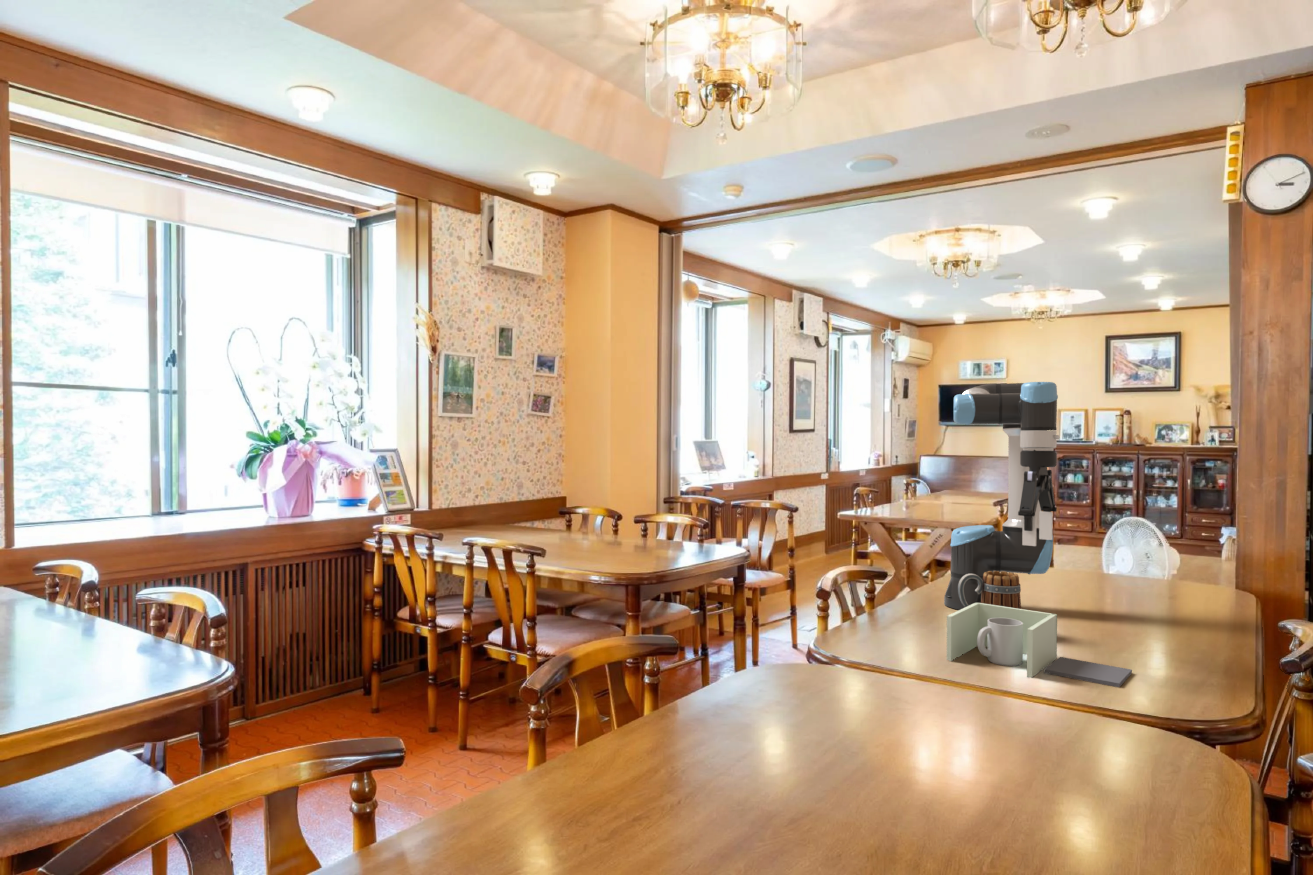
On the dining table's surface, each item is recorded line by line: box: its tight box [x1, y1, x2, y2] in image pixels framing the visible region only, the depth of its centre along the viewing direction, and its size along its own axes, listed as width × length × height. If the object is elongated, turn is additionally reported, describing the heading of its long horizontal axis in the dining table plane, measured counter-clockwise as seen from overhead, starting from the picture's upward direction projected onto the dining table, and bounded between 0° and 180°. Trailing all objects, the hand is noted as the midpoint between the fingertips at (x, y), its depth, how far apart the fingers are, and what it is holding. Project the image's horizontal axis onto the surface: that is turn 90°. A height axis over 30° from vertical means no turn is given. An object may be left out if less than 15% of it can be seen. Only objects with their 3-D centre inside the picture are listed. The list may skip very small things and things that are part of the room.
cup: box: [977, 618, 1024, 667], centre depth 176 cm, size 7×10×9 cm
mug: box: [958, 571, 1022, 609], centre depth 201 cm, size 16×11×15 cm
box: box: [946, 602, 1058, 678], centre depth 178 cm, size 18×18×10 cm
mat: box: [1043, 656, 1133, 688], centre depth 168 cm, size 14×12×1 cm
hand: (1037, 542), depth 181 cm, fingers open, 13 cm apart
